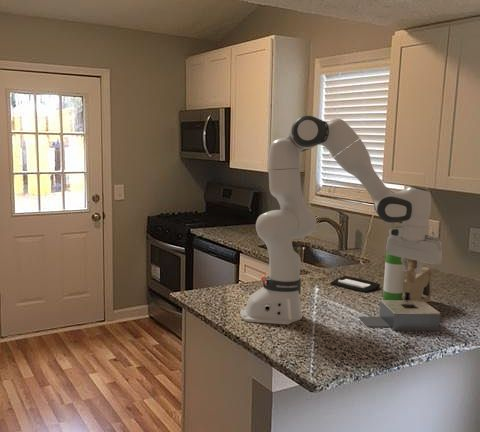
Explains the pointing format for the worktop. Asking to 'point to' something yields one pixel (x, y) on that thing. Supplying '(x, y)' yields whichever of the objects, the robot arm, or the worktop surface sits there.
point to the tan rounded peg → (411, 271)
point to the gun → (419, 286)
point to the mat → (374, 321)
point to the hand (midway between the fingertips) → (411, 271)
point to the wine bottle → (393, 278)
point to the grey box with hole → (409, 315)
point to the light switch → (355, 284)
